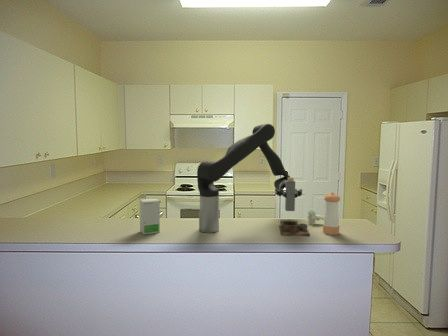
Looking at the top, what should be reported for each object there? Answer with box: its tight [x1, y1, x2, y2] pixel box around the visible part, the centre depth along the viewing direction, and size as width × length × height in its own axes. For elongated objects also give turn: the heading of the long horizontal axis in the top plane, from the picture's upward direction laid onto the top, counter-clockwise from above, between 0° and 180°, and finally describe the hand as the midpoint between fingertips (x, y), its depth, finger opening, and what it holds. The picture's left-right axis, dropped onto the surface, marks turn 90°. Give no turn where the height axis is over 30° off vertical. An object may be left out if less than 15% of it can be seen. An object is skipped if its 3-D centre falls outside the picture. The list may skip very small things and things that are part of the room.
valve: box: [307, 210, 325, 225], centre depth 164 cm, size 7×7×12 cm
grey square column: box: [284, 176, 296, 212], centre depth 150 cm, size 4×4×16 cm
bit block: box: [278, 220, 311, 237], centre depth 152 cm, size 13×12×4 cm
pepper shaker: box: [322, 192, 341, 236], centre depth 150 cm, size 7×7×19 cm
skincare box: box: [139, 198, 161, 236], centre depth 151 cm, size 8×7×16 cm
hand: (290, 195), depth 147 cm, fingers closed on grey square column, 4 cm apart
